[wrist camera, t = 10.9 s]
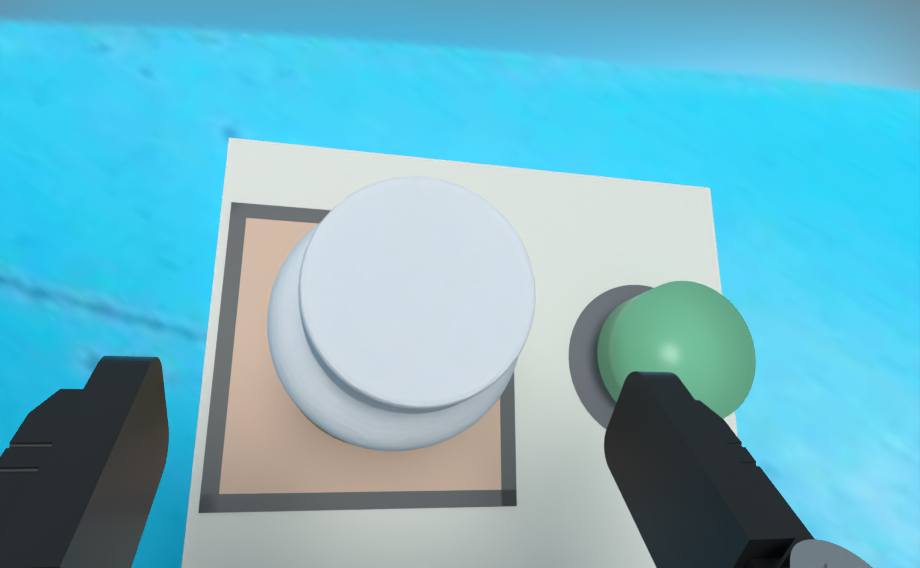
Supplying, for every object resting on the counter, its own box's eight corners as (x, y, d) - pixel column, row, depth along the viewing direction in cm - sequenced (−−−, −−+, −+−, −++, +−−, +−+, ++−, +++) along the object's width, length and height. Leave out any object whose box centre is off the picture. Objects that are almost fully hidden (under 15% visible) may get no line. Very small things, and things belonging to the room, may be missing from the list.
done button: (601, 424, 19) (631, 423, 17) (594, 291, 20) (622, 276, 18) (722, 426, 20) (764, 424, 18) (708, 298, 21) (746, 284, 19)
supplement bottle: (318, 255, 19) (315, 91, 10) (474, 305, 20) (602, 194, 11) (259, 419, 18) (193, 399, 9) (431, 467, 19) (538, 495, 9)
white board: (183, 595, 17) (176, 603, 16) (232, 148, 21) (228, 136, 20) (737, 568, 21) (754, 574, 20) (697, 195, 24) (711, 186, 24)
